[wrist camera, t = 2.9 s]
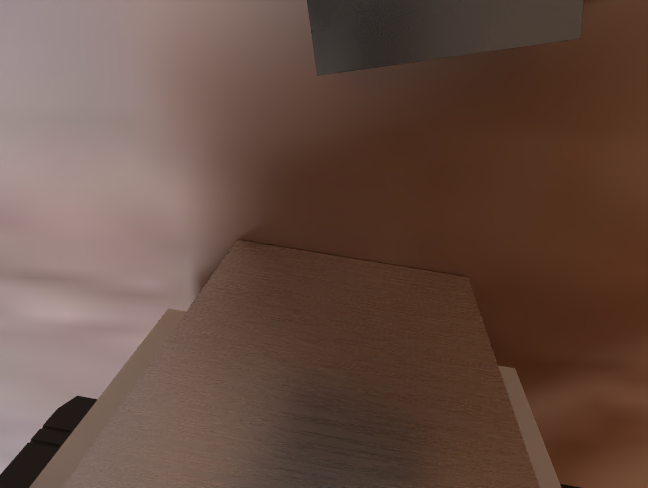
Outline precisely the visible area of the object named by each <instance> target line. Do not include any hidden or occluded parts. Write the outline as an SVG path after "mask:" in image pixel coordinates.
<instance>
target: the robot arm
mask: <svg viewBox="0 0 648 488" xmlns="http://www.w3.org/2000/svg"><path fill="white" fill-rule="evenodd" d="M185 313H186V312H185V311H179V310H173V309H168V310H167V311H166V312H165V314H164V315H163V316H162V318H161V319H160V320H159V321H158V323H157V324H156V325H155V327H154V328H153V329H152V330H151V332H150V333H149V334H148V336H147V337H146V338H145V339H144V341H143V342H142V343H141V345H140V346H139V347H138V348H137V350H136V351H135V352H134V354H133V355H132V356H131V357H130V359H129V360H128V361H127V363H126V364H125V365H124V366H123V368H122V369H121V370H120V372H119V373H118V374H117V375H116V377H115V378H114V379H113V381H112V382H111V383H110V384H109V386H108V387H107V388H106V390H105V391H104V392H103V393H102V395H101V396H100V397H99V399H98V400H97V399H92V398H87V397H81V396H76V397H75V398H73V399H72V400H70V401H69V402H67V403H66V404H64V405H63V406H61V407H59V408H58V409H57V410H56V411H55V412H54V413H53V415H52V416H51V417H50V418H49V419H48V420H47V421H46V423H45V424H44V425H43V428H42V429H40V430H39V431H38V432H37V433H36V434H35V435H34V436H33V438H32V439H31V442H30V443H27V445H26V446H25V447H24V448H23V449H22V450H21V452H20V453H19V454H18V455H17V456H16V457H15V458H14V460H13V461H12V462H11V463H10V464H9V465H8V467H7V468H6V469H5V470H4V471H3V472H2V473H1V475H0V488H62V487H63V486H64V484H65V483H66V482H67V480H68V479H69V477H70V476H71V474H72V473H73V472H74V470H75V469H76V467H77V466H78V465H79V463H80V462H81V460H82V459H83V457H84V456H85V455H86V453H87V452H88V450H89V449H90V448H91V446H92V445H93V443H94V442H95V440H96V439H97V438H98V436H99V435H100V433H101V432H102V431H103V429H104V428H105V426H106V425H107V423H108V422H109V421H110V419H111V418H112V416H113V415H114V414H115V412H116V411H117V409H118V408H119V406H120V405H121V404H122V402H123V401H124V399H125V398H126V397H127V395H128V394H129V392H130V391H131V389H132V388H133V387H134V385H135V384H136V382H137V381H138V379H139V378H140V377H141V375H142V374H143V372H144V371H145V370H146V368H147V367H148V365H149V364H150V362H151V361H152V360H153V358H154V357H155V355H156V354H157V353H158V351H159V350H160V348H161V347H162V345H163V344H164V343H165V341H166V340H167V338H168V337H169V336H170V334H171V333H172V331H173V330H174V328H175V327H176V326H177V324H178V323H179V321H180V320H181V319H182V317H183V316H184V314H185ZM498 367H499V370H500V373H501V375H502V378H503V381H504V384H505V387H506V390H507V393H508V396H509V399H510V402H511V405H512V408H513V411H514V414H515V417H516V419H517V422H518V425H519V428H520V431H521V434H522V437H523V440H524V443H525V446H526V449H527V452H528V455H529V458H530V461H531V463H532V466H533V469H534V472H535V475H536V478H537V481H538V484H539V487H540V488H580V487H574V486H569V485H563V484H560V483H559V480H558V478H557V475H556V472H555V470H554V467H553V465H552V462H551V460H550V457H549V454H548V452H547V449H546V447H545V444H544V441H543V439H542V436H541V434H540V431H539V429H538V426H537V423H536V421H535V418H534V416H533V413H532V411H531V408H530V405H529V403H528V400H527V398H526V395H525V393H524V390H523V387H522V385H521V382H520V380H519V377H518V375H517V372H516V369H515V368H510V367H504V366H498Z"/></svg>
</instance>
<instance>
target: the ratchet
mask: <svg viewBox="0 0 648 488" xmlns="http://www.w3.org/2000/svg"><path fill="white" fill-rule="evenodd" d="M583 2H584V0H307V4H308V11H309V19H310V26H311V33H312V40H313V48H314V55H315V62H316V69H317V76H319V75H326V74H333V73H340V72H347V71H354V70H361V69H368V68H375V67H382V66H390V65H397V64H404V63H411V62H418V61H425V60H432V59H439V58H446V57H453V56H460V55H467V54H475V53H482V52H489V51H496V50H503V49H510V48H517V47H524V46H531V45H538V44H545V43H552V42H559V41H567V40H574V39H581V28H582V15H583Z"/></svg>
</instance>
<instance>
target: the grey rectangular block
mask: <svg viewBox="0 0 648 488" xmlns="http://www.w3.org/2000/svg"><path fill="white" fill-rule="evenodd" d="M62 488H540V487H539V484H538V481H537V478H536V475H535V472H534V469H533V466H532V463H531V461H530V458H529V455H528V452H527V449H526V446H525V443H524V440H523V437H522V434H521V431H520V428H519V425H518V422H517V419H516V417H515V414H514V411H513V408H512V405H511V402H510V399H509V396H508V393H507V390H506V387H505V384H504V381H503V378H502V375H501V373H500V370H499V367H498V364H497V361H496V358H495V355H494V352H493V349H492V346H491V343H490V340H489V337H488V334H487V331H486V329H485V326H484V323H483V320H482V317H481V314H480V311H479V308H478V305H477V302H476V299H475V296H474V293H473V290H472V287H471V285H470V282H469V279H468V277H464V276H458V275H452V274H446V273H439V272H433V271H427V270H421V269H415V268H409V267H402V266H396V265H390V264H384V263H378V262H372V261H365V260H359V259H353V258H347V257H341V256H335V255H328V254H322V253H316V252H310V251H304V250H297V249H291V248H285V247H279V246H273V245H267V244H260V243H254V242H248V241H242V240H237V241H236V242H235V243H234V245H233V246H232V248H231V249H230V250H229V252H228V253H227V255H226V256H225V258H224V259H223V260H222V262H221V263H220V265H219V266H218V267H217V269H216V270H215V272H214V273H213V275H212V276H211V277H210V279H209V280H208V282H207V283H206V284H205V286H204V287H203V289H202V290H201V292H200V293H199V294H198V296H197V297H196V299H195V300H194V302H193V303H192V304H191V306H190V307H189V309H188V310H187V311H186V313H185V314H184V316H183V317H182V319H181V320H180V321H179V323H178V324H177V326H176V327H175V328H174V330H173V331H172V333H171V334H170V336H169V337H168V338H167V340H166V341H165V343H164V344H163V345H162V347H161V348H160V350H159V351H158V353H157V354H156V355H155V357H154V358H153V360H152V361H151V362H150V364H149V365H148V367H147V368H146V370H145V371H144V372H143V374H142V375H141V377H140V378H139V379H138V381H137V382H136V384H135V385H134V387H133V388H132V389H131V391H130V392H129V394H128V395H127V397H126V398H125V399H124V401H123V402H122V404H121V405H120V406H119V408H118V409H117V411H116V412H115V414H114V415H113V416H112V418H111V419H110V421H109V422H108V423H107V425H106V426H105V428H104V429H103V431H102V432H101V433H100V435H99V436H98V438H97V439H96V440H95V442H94V443H93V445H92V446H91V448H90V449H89V450H88V452H87V453H86V455H85V456H84V457H83V459H82V460H81V462H80V463H79V465H78V466H77V467H76V469H75V470H74V472H73V473H72V474H71V476H70V477H69V479H68V480H67V482H66V483H65V484H64V486H63V487H62Z"/></svg>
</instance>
